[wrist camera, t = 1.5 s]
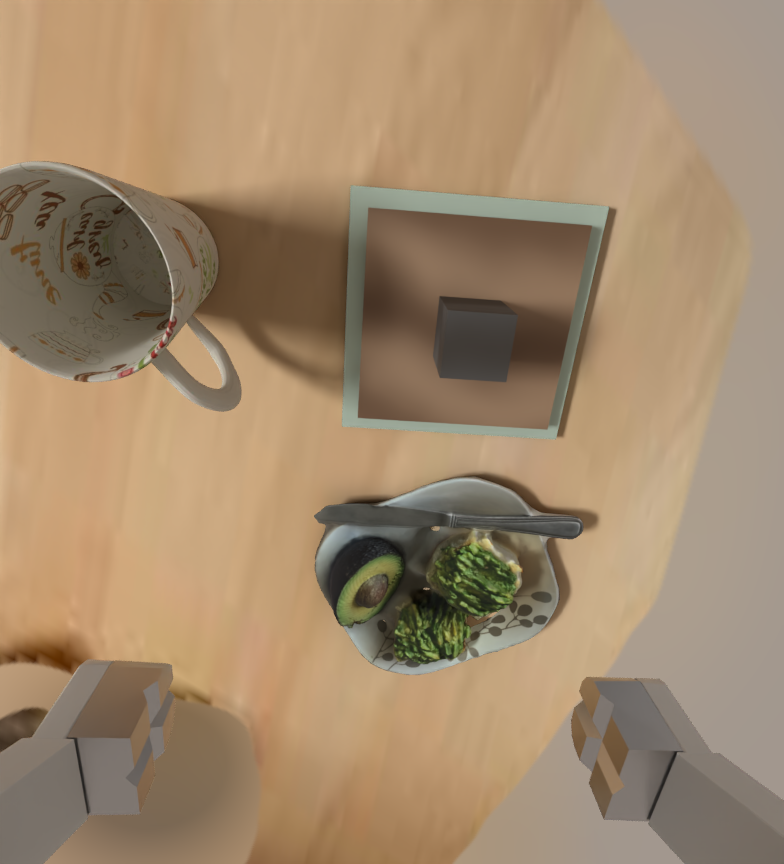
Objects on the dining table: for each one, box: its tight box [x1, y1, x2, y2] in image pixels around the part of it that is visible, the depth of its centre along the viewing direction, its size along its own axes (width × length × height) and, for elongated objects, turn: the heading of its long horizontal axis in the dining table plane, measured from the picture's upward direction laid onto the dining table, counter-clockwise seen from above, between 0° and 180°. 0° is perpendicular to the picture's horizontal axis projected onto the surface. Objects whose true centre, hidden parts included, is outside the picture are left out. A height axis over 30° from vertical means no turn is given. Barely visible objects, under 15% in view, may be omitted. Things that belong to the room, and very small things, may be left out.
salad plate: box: [314, 476, 583, 675], centre depth 37 cm, size 19×18×5 cm
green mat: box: [342, 185, 609, 439], centre depth 31 cm, size 14×14×1 cm
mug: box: [0, 161, 241, 412], centre depth 25 cm, size 8×13×10 cm, turn 34°
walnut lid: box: [358, 207, 592, 430], centre depth 28 cm, size 12×12×5 cm
